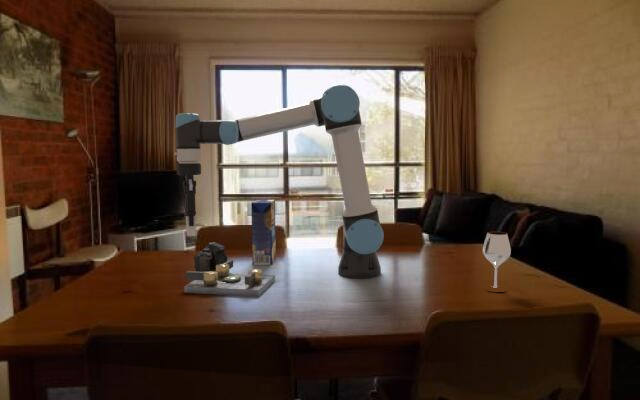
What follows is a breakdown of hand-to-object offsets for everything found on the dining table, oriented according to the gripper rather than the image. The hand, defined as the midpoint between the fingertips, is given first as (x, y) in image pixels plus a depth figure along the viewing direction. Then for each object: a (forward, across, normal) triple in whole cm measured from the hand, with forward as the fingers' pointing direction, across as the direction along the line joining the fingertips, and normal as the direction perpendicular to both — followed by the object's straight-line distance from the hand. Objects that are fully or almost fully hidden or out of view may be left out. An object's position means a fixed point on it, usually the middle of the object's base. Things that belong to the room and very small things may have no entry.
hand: (191, 234), depth 156 cm
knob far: (+14, -3, +11) cm, 18 cm away
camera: (+17, -18, +8) cm, 26 cm away
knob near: (+14, +7, +2) cm, 16 cm away
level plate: (+17, +6, +12) cm, 21 cm away
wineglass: (+17, +38, +89) cm, 98 cm away
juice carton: (+17, -25, +29) cm, 42 cm away
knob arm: (+14, +13, +17) cm, 26 cm away
